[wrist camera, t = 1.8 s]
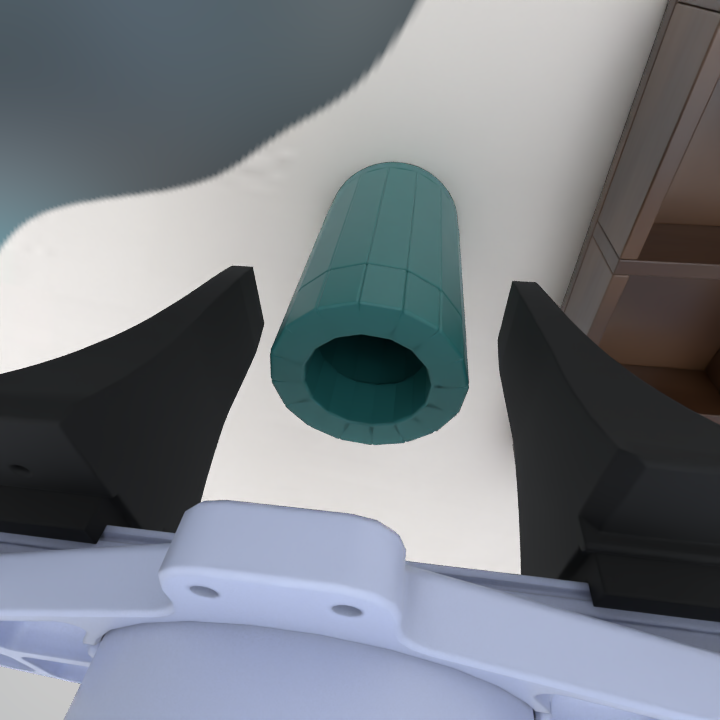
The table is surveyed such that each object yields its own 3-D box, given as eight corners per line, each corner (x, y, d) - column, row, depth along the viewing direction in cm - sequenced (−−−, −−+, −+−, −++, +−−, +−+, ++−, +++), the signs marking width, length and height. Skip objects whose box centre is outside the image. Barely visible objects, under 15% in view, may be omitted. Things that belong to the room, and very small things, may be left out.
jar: (465, 270, 17) (478, 439, 11) (350, 289, 18) (309, 450, 13) (447, 145, 14) (451, 286, 8) (312, 179, 16) (235, 320, 10)
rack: (645, 457, 23) (666, 511, 21) (512, 444, 24) (519, 495, 22) (986, -31, 10) (1134, -23, 8) (677, -27, 11) (737, -19, 9)
